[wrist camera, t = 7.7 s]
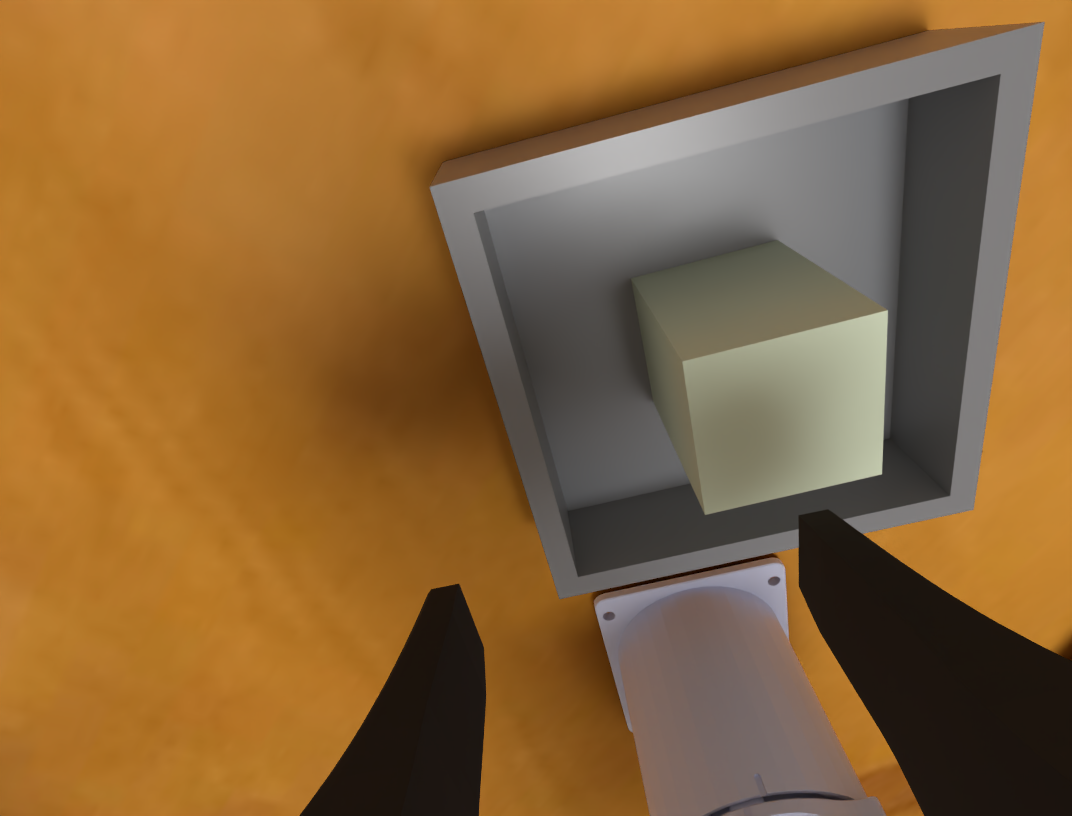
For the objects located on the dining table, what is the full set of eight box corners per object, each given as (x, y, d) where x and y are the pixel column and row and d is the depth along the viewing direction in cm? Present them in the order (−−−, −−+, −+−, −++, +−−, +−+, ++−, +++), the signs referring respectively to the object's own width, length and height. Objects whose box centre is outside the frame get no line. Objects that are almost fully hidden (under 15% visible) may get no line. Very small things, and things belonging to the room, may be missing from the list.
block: (784, 369, 21) (882, 474, 15) (653, 402, 21) (705, 515, 16) (777, 240, 18) (887, 310, 13) (631, 278, 19) (682, 361, 14)
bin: (901, 442, 23) (973, 509, 20) (550, 521, 24) (559, 598, 21) (928, 30, 17) (1044, 22, 13) (442, 161, 17) (429, 186, 14)
